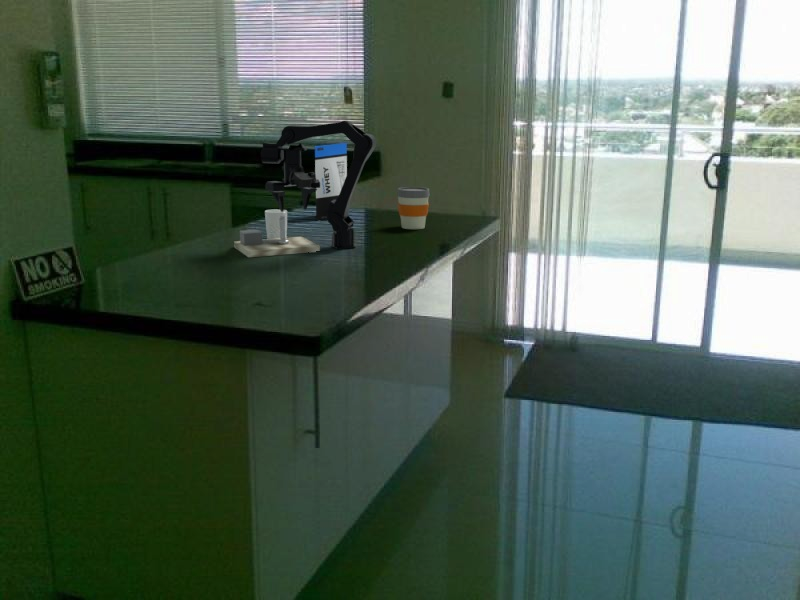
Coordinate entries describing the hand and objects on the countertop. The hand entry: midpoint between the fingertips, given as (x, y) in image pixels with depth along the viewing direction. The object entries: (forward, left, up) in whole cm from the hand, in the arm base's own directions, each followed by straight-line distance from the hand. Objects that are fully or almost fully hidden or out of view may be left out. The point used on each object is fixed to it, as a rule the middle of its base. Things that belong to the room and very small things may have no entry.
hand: (293, 210), depth 270 cm
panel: (+8, +5, -12) cm, 15 cm away
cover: (+16, +2, -10) cm, 19 cm away
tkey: (+8, +5, -10) cm, 14 cm away
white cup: (+2, -14, -12) cm, 19 cm away
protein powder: (-34, -53, -12) cm, 64 cm away
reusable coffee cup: (-54, -17, -12) cm, 58 cm away
